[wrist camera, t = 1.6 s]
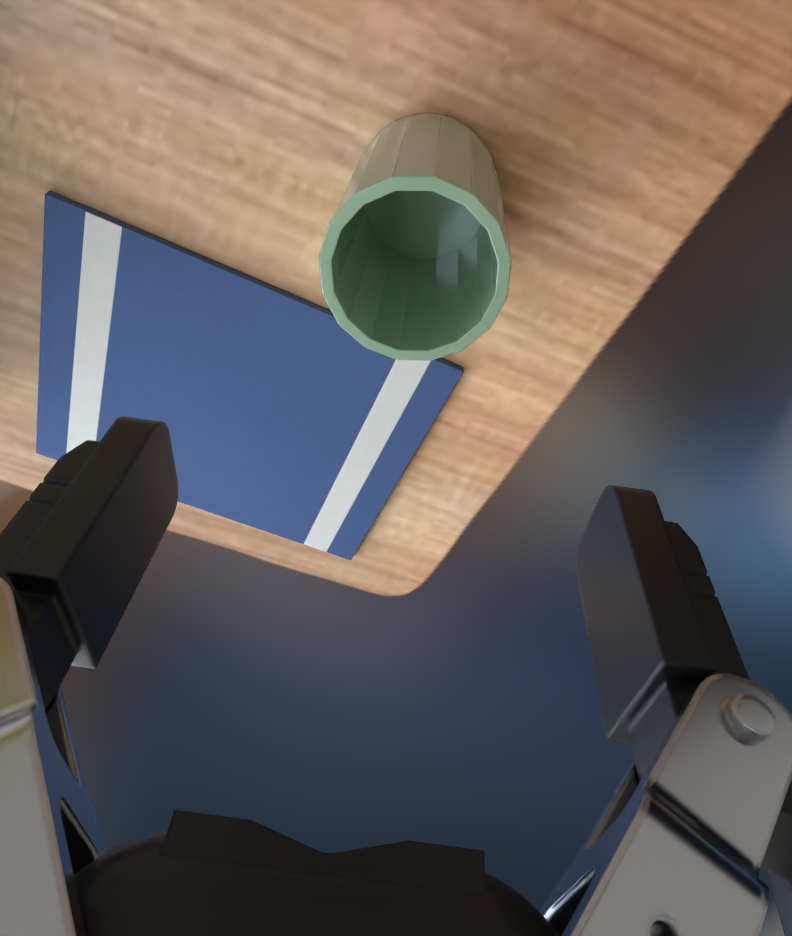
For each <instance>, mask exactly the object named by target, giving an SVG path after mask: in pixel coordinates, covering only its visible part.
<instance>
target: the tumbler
mask: <svg viewBox="0 0 792 936" xmlns="http://www.w3.org/2000/svg"><path fill="white" fill-rule="evenodd" d="M319 267H320V277H321V286H322V293H323V296H324V298H325V300H326V302H327V303H328V305H329V307H330V309H331V311H332V313H333V315H334V317H335V318H336V320H337V322H338V324H340V326H341V327H342V328H343V329H344V330H345V331H347V332H348V333H349V334H350V335H351V336H352V337H353V338H355V339H356V340H357V341H358V342H359V343H360V344H361V345H363V346H364V347H366V348H367V349H370V350H372V351H375V352H378V353H380V354H383V355H385V356H388V357H391V358H393V359H396V360H421V361H430V360H435V359H438V358H441V357H444V356H447V355H450V354H453V353H456V352H459V351H462V350H463V349H465V348H466V347H468V346H469V345H470V344H471V343H472V342H474V341H475V340H476V339H477V338H479V337H480V336H481V335H482V334H483V333H485V332H486V331H487V330H488V329H489V328H490V327H491V326H492V324H493V322H494V321H495V319H496V317H497V315H498V313H499V312H500V310H501V308H502V306H503V304H504V302H505V301H506V299H507V296H508V290H509V280H510V271H511V254H510V248H509V242H508V235H507V229H506V223H505V217H504V211H503V205H502V199H501V193H500V187H499V181H498V178H497V174H496V171H495V166H494V163H493V160H492V158H491V155H490V153H489V151H488V149H487V148H486V146H485V144H484V143H483V142H482V140H481V139H480V138H479V137H478V136H477V135H476V134H475V132H474V131H473V130H471V129H470V128H469V127H467V126H466V125H465V124H463V123H461V122H460V121H458V120H456V119H453V118H451V117H448V116H445V115H440V114H434V113H421V114H414V115H410V116H406V117H403V118H401V119H398V120H396V121H395V122H393V123H391V124H389V125H388V126H387V127H385V128H384V129H383V130H382V131H381V132H380V133H379V134H378V135H377V136H376V137H375V138H374V139H373V140H372V142H371V143H370V144H369V146H368V147H367V149H366V150H365V151H364V152H363V154H362V156H361V158H360V160H359V162H358V164H357V166H356V168H355V170H354V173H353V175H352V177H351V179H350V181H349V183H348V185H347V187H346V189H345V191H344V193H343V195H342V198H341V200H340V202H339V204H338V206H337V208H336V210H335V212H334V214H333V216H332V218H331V220H330V222H329V225H328V228H327V232H326V235H325V238H324V241H323V245H322V248H321V251H320V254H319Z"/></svg>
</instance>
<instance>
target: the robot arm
mask: <svg viewBox="0 0 792 936" xmlns="http://www.w3.org/2000/svg"><path fill="white" fill-rule="evenodd" d="M177 500H178V479H177V473H176V468H175V462H174V456H173V450H172V444H171V439H170V433H169V429H168V426H167V424H166V423H165V422H162V421H155V420H148V419H140V418H133V417H126V416H121V417H119V418H117V419H116V420H115V421H114V423H113V424H112V426H111V427H110V428H109V430H108V431H107V432H106V434H105V435H104V436H103V438H102V439H101V441H100V442H98V441H91V440H86V441H85V442H83V443H82V444H80V445H78V446H77V447H75V448H74V449H72V450H71V451H69V452H68V453H66V454H65V455H63V456H61V457H60V459H59V460H58V461H57V462H56V464H55V465H54V466H53V467H52V469H51V470H50V471H49V473H48V474H47V475H46V476H45V478H44V482H43V483H40V484H39V485H38V487H37V488H36V489H35V490H34V492H33V493H32V494H31V496H30V500H29V501H26V502H25V503H24V504H23V506H22V507H21V509H20V510H19V511H18V512H17V513H16V515H15V516H14V517H13V519H12V520H11V521H10V522H9V524H8V525H7V526H6V528H5V529H4V530H3V531H2V533H1V534H0V936H759V933H760V930H761V927H762V924H763V921H764V918H765V915H766V911H767V907H768V902H769V889H768V886H767V885H766V884H765V883H764V882H762V881H761V880H760V879H759V870H760V867H761V868H763V869H765V870H767V873H768V877H769V881H770V884H771V888H772V891H773V895H774V899H775V902H776V906H777V909H778V913H779V916H780V920H781V924H782V927H783V931H784V934H785V936H792V716H791V714H790V713H789V711H788V710H787V709H786V707H785V706H784V705H783V704H782V703H781V702H780V701H779V700H778V699H777V698H776V697H775V696H774V695H773V694H772V693H771V692H769V691H768V690H766V689H765V688H764V687H762V686H761V685H759V684H757V683H756V682H754V681H752V680H750V678H749V676H748V674H747V672H746V669H745V667H744V664H743V662H742V659H741V656H740V654H739V651H738V649H737V646H736V644H735V641H734V639H733V636H732V633H731V631H730V628H729V626H728V623H727V621H726V618H725V616H724V613H723V610H722V608H721V605H720V603H719V600H718V598H717V597H715V595H714V594H715V591H714V588H713V585H712V582H711V580H710V578H709V576H707V575H706V574H707V570H706V567H705V565H704V562H703V560H702V557H701V554H700V552H699V549H698V547H697V545H696V544H695V543H694V542H693V541H692V540H691V539H690V537H689V536H688V535H687V534H686V533H685V531H684V530H683V529H682V528H681V527H680V526H679V524H678V523H673V522H666V521H664V519H663V516H662V513H661V510H660V507H659V505H658V501H657V499H656V496H655V495H654V493H653V492H651V491H649V490H642V489H634V488H627V487H620V486H613V485H609V486H607V487H606V488H605V489H604V491H603V492H602V494H601V497H600V499H599V501H598V503H597V505H596V507H595V509H594V512H593V514H592V516H591V518H590V520H589V522H588V525H587V527H586V529H585V531H584V533H583V535H582V538H581V540H580V543H579V545H578V549H577V556H576V573H577V580H578V585H579V590H580V596H581V602H582V606H583V612H584V618H585V623H586V629H587V634H588V640H589V645H590V651H591V656H592V662H593V667H594V673H595V678H596V683H597V689H598V694H599V700H600V706H601V711H602V716H603V722H604V727H605V733H606V738H607V740H613V741H620V742H627V743H631V746H632V751H633V756H634V761H633V763H632V764H631V765H630V766H629V768H628V770H627V771H626V773H625V775H624V776H623V778H622V780H621V781H620V783H619V785H618V786H617V788H616V790H615V792H614V793H613V795H612V797H611V799H610V800H609V802H608V804H607V805H606V807H605V809H604V811H603V812H602V814H601V815H600V817H599V819H598V821H597V823H596V824H595V826H594V828H593V829H592V831H591V833H590V834H589V836H588V838H587V839H586V841H585V843H584V845H583V846H582V848H581V850H580V851H579V853H578V855H577V856H576V858H575V859H574V861H573V862H572V864H571V865H570V867H569V868H568V869H567V871H566V872H565V874H564V875H563V876H562V878H561V879H560V880H559V882H558V883H557V885H556V886H555V888H554V890H553V891H552V892H551V894H550V896H549V897H548V899H547V900H546V902H545V904H544V906H543V907H542V909H541V910H540V912H539V911H538V910H537V909H536V908H535V907H534V906H533V905H532V904H531V903H530V902H529V901H528V900H526V899H525V898H524V897H523V896H522V895H520V894H519V893H518V892H517V891H515V890H514V889H513V888H512V887H510V886H508V885H507V884H505V883H504V882H502V881H500V880H499V879H497V878H496V877H494V876H492V875H490V874H487V873H485V866H484V865H485V864H484V851H483V850H475V849H468V848H460V847H452V846H445V845H437V844H430V843H422V842H414V841H404V842H398V843H392V844H386V845H380V846H374V847H368V848H362V849H356V850H350V851H344V852H338V853H323V852H320V851H318V850H315V849H313V848H311V847H309V846H307V845H304V844H302V843H300V842H298V841H296V840H294V839H291V838H289V837H287V836H285V835H282V834H281V833H278V832H276V831H274V830H272V829H270V828H267V827H265V826H263V825H261V824H258V823H257V822H254V821H252V820H247V819H240V818H232V817H224V816H217V815H209V814H202V813H195V812H187V811H179V810H174V813H173V816H172V819H171V822H170V826H169V828H168V831H164V832H158V833H155V834H152V835H148V836H145V837H141V838H138V839H135V840H133V841H131V842H128V843H126V844H124V845H121V846H119V847H117V848H115V849H113V850H111V851H109V852H108V853H107V850H106V846H105V843H104V839H103V836H102V832H101V829H100V826H99V823H98V820H97V818H96V815H95V812H94V810H93V807H92V804H91V801H90V799H89V796H88V792H87V789H86V785H85V782H84V777H83V773H82V769H81V765H80V761H79V757H78V753H77V749H76V745H75V741H74V737H73V733H72V729H71V726H70V721H69V717H68V713H67V709H66V705H65V701H64V698H63V694H62V690H61V688H60V684H61V683H62V681H63V679H64V677H65V675H66V673H67V672H68V670H69V668H70V666H78V667H86V668H93V669H96V667H97V665H98V663H99V661H100V659H101V657H102V655H103V653H104V651H105V649H106V648H107V645H108V643H109V642H110V640H111V638H112V636H113V634H114V632H115V630H116V628H117V626H118V624H119V622H120V620H121V618H122V616H123V614H124V612H125V610H126V608H127V606H128V604H129V602H130V600H131V598H132V596H133V594H134V592H135V590H136V588H137V586H138V584H139V582H140V580H141V578H142V576H143V574H144V572H145V570H146V568H147V566H148V565H149V563H150V561H151V559H152V556H153V555H154V552H155V551H156V549H157V547H158V545H159V543H160V541H161V539H162V537H163V535H164V533H165V531H166V529H167V527H168V525H169V523H170V521H171V519H172V517H173V515H174V512H175V509H176V505H177Z"/></svg>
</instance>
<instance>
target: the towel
mask: <svg viewBox="0 0 792 936" xmlns="http://www.w3.org/2000/svg"><path fill="white" fill-rule="evenodd" d="M462 373H463V368H462V367H460V366H458V365H455V364H453V363H451V362H448V361H446V360H444V359H441V358H438V359H435V360H430V361H421V360H396V359H393V358H391V357H388V356H385V355H383V354H380V353H378V352H375V351H372V350H370V349H367V348H366V347H364V346H363V345H361V344H360V343H359V342H358V341H357V340H356V339H355V338H353V337H352V336H351V335H350V334H349V333H348V332H347V331H345V330H344V329H343V328H342V327H341V326H340V324H338V322H337V320H336V318H335V317H334V315H333V313H332V312H331V311H329V310H327V309H324V308H322V307H320V306H317V305H315V304H313V303H310V302H308V301H306V300H303V299H301V298H299V297H296V296H294V295H292V294H289V293H287V292H285V291H282V290H280V289H278V288H275V287H273V286H271V285H268V284H266V283H264V282H261V281H259V280H257V279H254V278H252V277H249V276H247V275H245V274H242V273H240V272H238V271H235V270H233V269H231V268H228V267H226V266H224V265H221V264H219V263H217V262H214V261H212V260H210V259H207V258H205V257H203V256H200V255H198V254H196V253H193V252H191V251H189V250H186V249H184V248H182V247H179V246H177V245H175V244H172V243H170V242H168V241H165V240H163V239H161V238H158V237H156V236H154V235H151V234H149V233H147V232H144V231H142V230H140V229H137V228H135V227H133V226H130V225H128V224H126V223H123V222H121V221H119V220H116V219H114V218H112V217H109V216H107V215H105V214H102V213H100V212H98V211H95V210H93V209H91V208H88V207H86V206H83V205H81V204H79V203H76V202H74V201H72V200H69V199H67V198H65V197H62V196H60V195H58V194H55V193H53V192H51V191H49V192H47V193H46V194H45V214H44V242H43V271H42V300H41V329H40V358H39V387H38V415H37V444H36V453H38V454H41V455H44V456H47V457H50V458H53V459H56V460H59V459H60V457H61V456H63V455H65V454H66V453H68V452H69V451H71V450H72V449H74V448H75V447H77V446H78V445H80V444H82V443H83V442H85V441H86V440H91V441H98V442H100V441H101V439H102V438H103V436H104V435H105V434H106V432H107V431H108V430H109V428H110V427H111V426H112V424H113V423H114V421H115V420H116V419H117V418H119V417H121V416H126V417H133V418H140V419H148V420H155V421H162V422H165V423H166V424H167V426H168V429H169V433H170V439H171V444H172V450H173V456H174V462H175V468H176V473H177V479H178V500H177V501H179V502H182V503H185V504H188V505H191V506H193V507H196V508H199V509H202V510H205V511H208V512H211V513H214V514H217V515H220V516H223V517H226V518H229V519H231V520H234V521H237V522H240V523H243V524H246V525H249V526H252V527H255V528H258V529H261V530H264V531H267V532H270V533H272V534H275V535H278V536H281V537H284V538H287V539H290V540H293V541H296V542H299V543H302V544H305V545H308V546H310V547H313V548H316V549H319V550H322V551H325V552H328V553H331V554H334V555H337V556H340V557H343V558H346V559H349V560H351V559H352V557H353V556H354V554H355V552H356V551H357V549H358V547H359V546H360V544H361V542H362V541H363V539H364V537H365V536H366V534H367V532H368V531H369V529H370V527H371V526H372V524H373V522H374V521H375V519H376V517H377V516H378V514H379V512H380V511H381V509H382V507H383V506H384V504H385V502H386V500H387V499H388V497H389V495H390V494H391V492H392V490H393V489H394V487H395V485H396V484H397V482H398V480H399V479H400V477H401V475H402V474H403V472H404V470H405V469H406V467H407V465H408V464H409V462H410V460H411V459H412V457H413V455H414V454H415V452H416V450H417V449H418V447H419V445H420V444H421V442H422V440H423V439H424V437H425V435H426V434H427V432H428V430H429V429H430V427H431V425H432V424H433V422H434V420H435V419H436V417H437V415H438V414H439V412H440V410H441V409H442V407H443V405H444V404H445V402H446V400H447V398H448V397H449V395H450V393H451V392H452V390H453V388H454V387H455V385H456V383H457V382H458V380H459V378H460V377H461V375H462Z"/></svg>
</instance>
